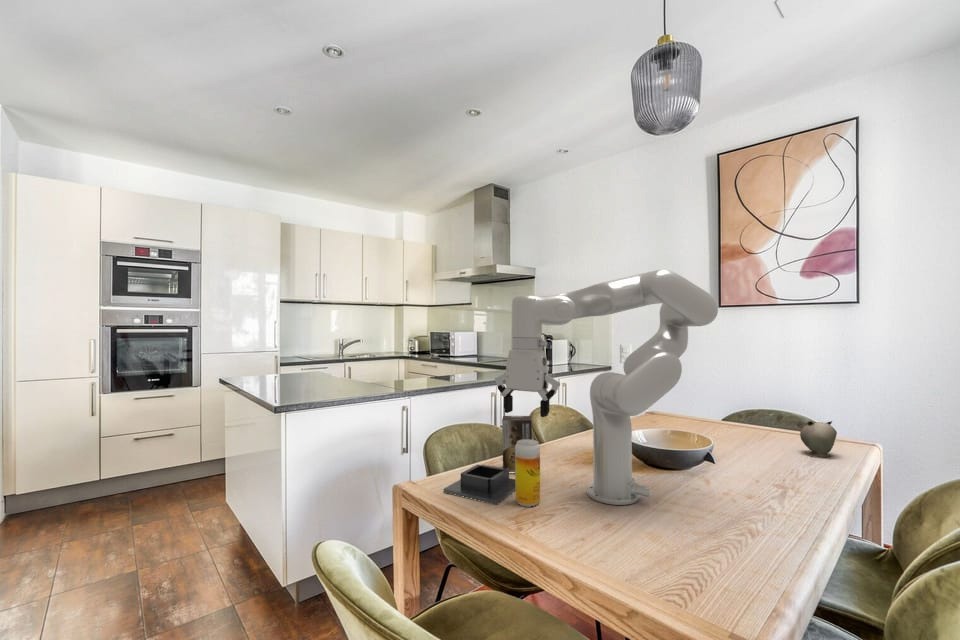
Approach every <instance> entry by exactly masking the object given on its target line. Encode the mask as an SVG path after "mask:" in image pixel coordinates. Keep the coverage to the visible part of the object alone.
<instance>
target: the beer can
mask: <svg viewBox="0 0 960 640" xmlns="http://www.w3.org/2000/svg"><path fill="white" fill-rule="evenodd" d="M514 476H515V478H514V479H515V490H516V491H515V501H516V502H517V504H518V505H519V504H520V505H519V506H521V505H522V506H521V507H525V506H526V508H531V506H533V507H536V506H538V505H539V503H540V502H541V446H540V444H539V441H538V440H535V439H532V440H530V439H523V440H518V441H517V444H516V446H515V475H514ZM537 504H538V505H537ZM535 505H536V506H535Z"/></svg>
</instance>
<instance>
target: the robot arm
mask: <svg viewBox="0 0 960 640" xmlns="http://www.w3.org/2000/svg"><path fill="white" fill-rule="evenodd" d="M657 304H661V306H660V309H659V328H658V329H657V331H656V333H655V334H654V335H652V336H651V337H650V338H649V339H648V340H647V341H645V342H643V344H641V345H640V346H638V348H636V349H634V351H633V352H631V353H630V354H629V355H628V356H627V357H626V358H625V360H624V362H623V372H624V374H623V373H619V372H614V371H613V372H611V371H610V372H609V371H607V372H602V373H599V374H598V375H596V376H595V377H594V379H593V380H592V381H591V384H590V387H589V399H590V405H591V406H590V407H591V411H592V426H593V427H592V431H593V434H592V439H593V441H592V444H593V446H592V449H593V457H592V458H593V459H592V460H593V469H592V471H593V484H591V485H590V486H588V488H587V496H588V497H589V498H591V499H593V500H594V501H596V502H599V503H602V504H606V505H607V504H608V505H615V506H625V505H627V506H628V505H631V504H634V503H637V502H638V501H639V499H640V498H639V497H640V496H642V497H646V498H651V489H650V488H648V487H647V486H646V485H644V484H642V485H640V484H638V483H636V478H635V477H633V448H632V447H633V441H632V439H633V438H632V437H633V436H632V435H633V431H632V430H633V429H632V422H631V421H632V420H631V417H635V416H638V415H641V414H642V413H645V412H646V411H647V410H648V409H650V408H651V407H652V406H653V405H654V404H655V403H657V402H659V400H661V398H663V397H664V396H665V395H667V394H668V393H669V392H670V391H671V390H672V389H674V387H675V386H676V385H677V384H678V382H679V381H680V379H681V376H682V372H683V367H682V362H681V359H680V357H681V356H683V354H684V353H685V352H686V351H687V348H688V344H689V343H688V342H689V327H704V326H705V327H706V326H707V325H710V324H712V322H713V321H715V319H716V318H717V316H718V312H719V308H718V307H719V305H718V303H717V301H716V299H715V298H714V297H713V296H712V295H711V294H710V293H709V292H707V291H706V290H704V289H703V288H701V287H700V286H698V285H697V284H695V283H693V282H692V281H690V280H688V279H687V278H685V277H683V276H682V275H680V274H679V273H677V272H674V271H672V270H670V269H663V268H662V269H657V270H656V269H655V270H652V271H648V272H642V273H639V274H635V275H633V274H632V275H630V276H627V277H626V276H624V277H621V278H617V279H612V280H607V281H602V282H599V283H596V284H592V285H590V286H589V285H588V286H586V287H584V288H581V289H578V290H573V291H569V292H564V293H560V294H556V295H546V296H545V295H544V296H538V295H527V294H526V295H516V296H514V297H513V299H512V300H511V345H510V346H511V349H510V350H508V355H507V359H506V367H505V373H503V374H500V375H499V376H497V377H495V378H494V382H495V385H496V386H497V389H498V391H499V392H500V393H501V396H502V397H503V409H504V413H506V414H509V413H512V412H513V409H514V408H513V407H514V406H513V403H514V402H513V401H514V398H513V395H512V394H513V392H514V391H517V392H518V391H520V392H529V393H530V392H531V393H538V395H539V396H540V398H541V400H540V406H539V407H540V409H539V410H540V411H539V413H540V416H539V417H541V418H545V417H547V416H548V415H549V413H550V400H551V399H552V398H553V397H554V396H555V395H556V393H557V391H558V390H559V388H560V385H561V382H560V381H558V380H557V379H554V378H553V377H551V376H550V375H549V369H548V360H547V354H546V351H545V350H542V349H543V348H544V347H548V346H547V345H548V342H547V340H543V337H542V335H543V325H544V326H564V325H566V324H568V323H570V322H571V321H573V320H576V319H582V318H589V317H602V316H608V315H614V314H617V313H621V312H625V311H628V310H629V311H630V310H634V309H637V308H643V307H646V306H651V305H657ZM504 380H505V384H504V383H503V381H504ZM549 385H551V388H550V390H548V389H549Z"/></svg>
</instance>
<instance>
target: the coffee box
mask: <svg viewBox="0 0 960 640" xmlns="http://www.w3.org/2000/svg"><path fill="white" fill-rule="evenodd" d="M501 419H502V420H501V428H502V431H501V433H502V434H501V435H502V436H501V437H502V468H503V469H506V470H509V472H515V446H516V444H517V441H518V440H523V439H530V440H533V417H532V415H503V416H502V418H501Z"/></svg>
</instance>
